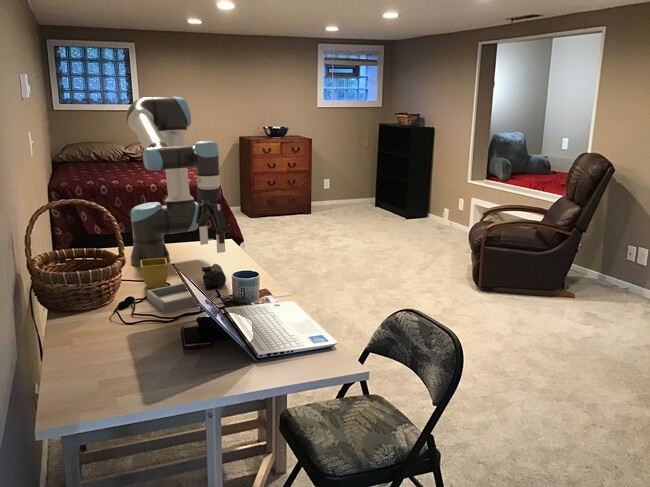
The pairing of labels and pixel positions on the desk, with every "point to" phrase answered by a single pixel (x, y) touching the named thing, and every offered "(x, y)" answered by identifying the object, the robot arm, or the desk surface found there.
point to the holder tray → (173, 297)
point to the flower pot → (154, 272)
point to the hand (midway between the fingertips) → (212, 248)
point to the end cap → (213, 277)
